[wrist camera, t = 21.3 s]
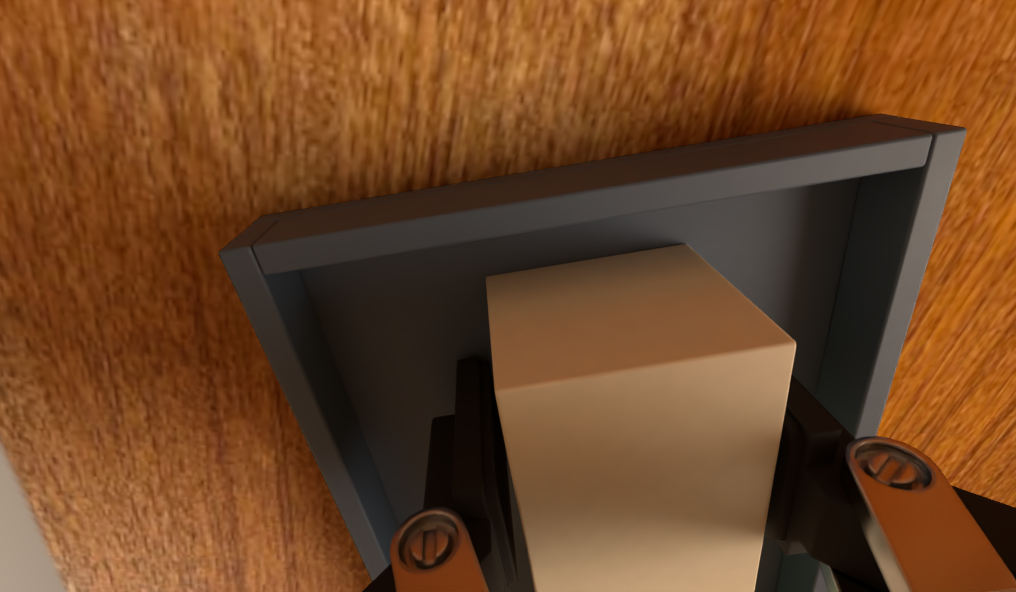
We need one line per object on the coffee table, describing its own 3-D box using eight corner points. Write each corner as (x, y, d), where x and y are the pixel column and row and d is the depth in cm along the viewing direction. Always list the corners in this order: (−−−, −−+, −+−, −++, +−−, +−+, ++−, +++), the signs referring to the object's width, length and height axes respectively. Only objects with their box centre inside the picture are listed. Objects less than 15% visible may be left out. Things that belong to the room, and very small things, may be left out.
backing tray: (441, 660, 19) (438, 725, 17) (259, 215, 10) (215, 251, 8) (776, 605, 18) (809, 664, 17) (881, 113, 10) (969, 127, 8)
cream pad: (525, 491, 14) (545, 645, 10) (484, 275, 10) (494, 392, 7) (678, 466, 14) (752, 611, 10) (687, 242, 10) (799, 342, 7)
